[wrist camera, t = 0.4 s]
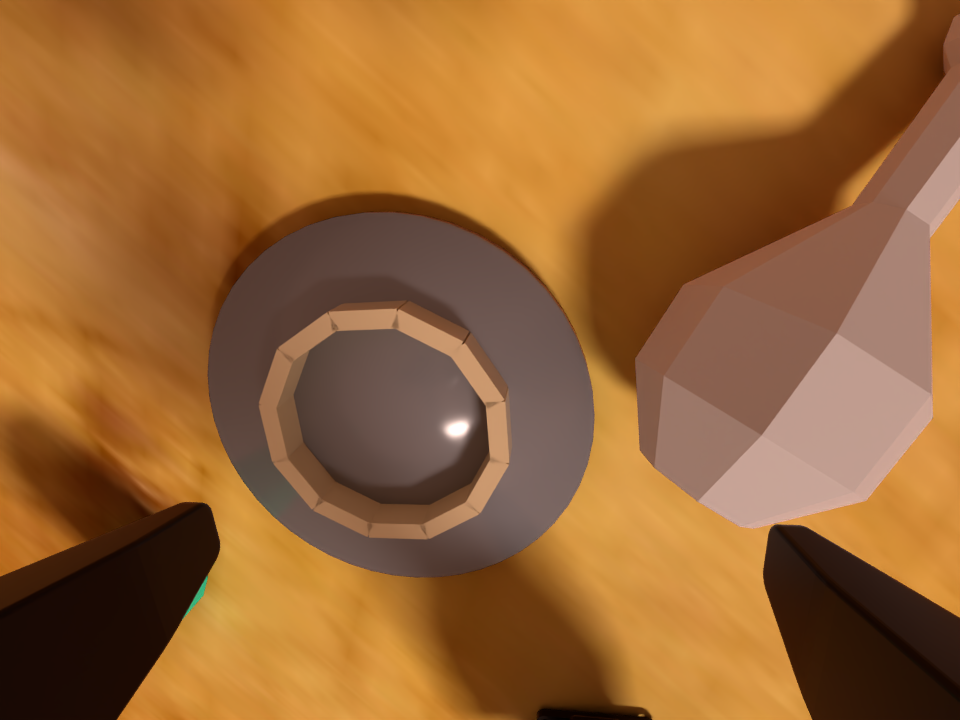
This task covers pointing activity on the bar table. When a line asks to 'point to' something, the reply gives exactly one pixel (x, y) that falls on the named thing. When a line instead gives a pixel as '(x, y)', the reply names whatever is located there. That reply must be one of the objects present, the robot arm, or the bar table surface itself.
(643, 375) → the chicken leg
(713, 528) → the bar table surface
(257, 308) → the candle holder
